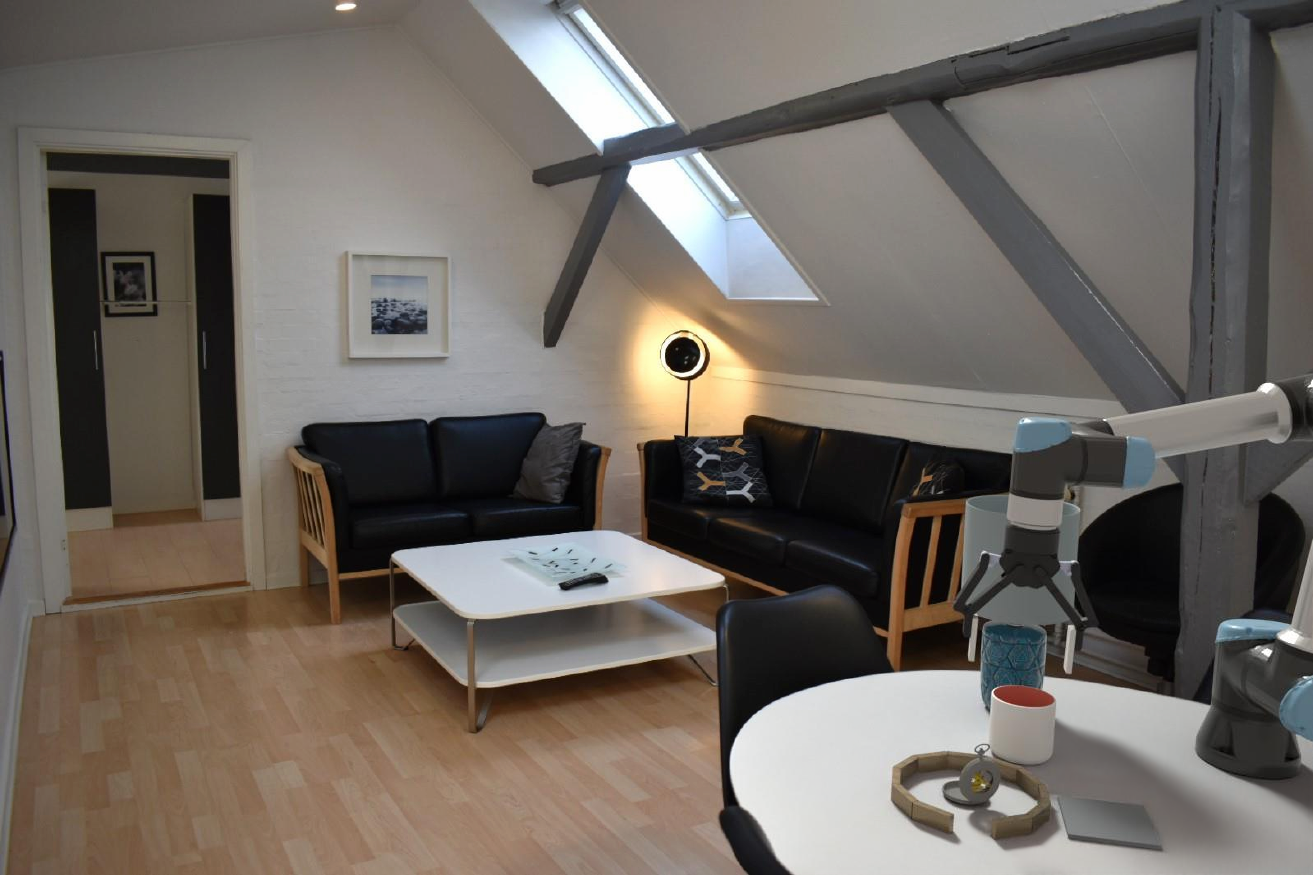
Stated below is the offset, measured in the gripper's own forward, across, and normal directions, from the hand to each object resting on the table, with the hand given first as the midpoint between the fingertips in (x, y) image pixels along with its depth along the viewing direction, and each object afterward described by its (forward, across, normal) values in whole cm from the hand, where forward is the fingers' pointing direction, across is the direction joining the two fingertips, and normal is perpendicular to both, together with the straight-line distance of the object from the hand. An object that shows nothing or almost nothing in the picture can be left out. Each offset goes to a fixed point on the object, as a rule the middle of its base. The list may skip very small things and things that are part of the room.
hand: (1018, 664), depth 157 cm
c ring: (+21, +6, +3) cm, 22 cm away
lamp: (+20, -3, -36) cm, 41 cm away
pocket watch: (+21, +5, +3) cm, 22 cm away
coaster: (+20, -14, +5) cm, 25 cm away
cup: (+20, -3, -16) cm, 26 cm away
